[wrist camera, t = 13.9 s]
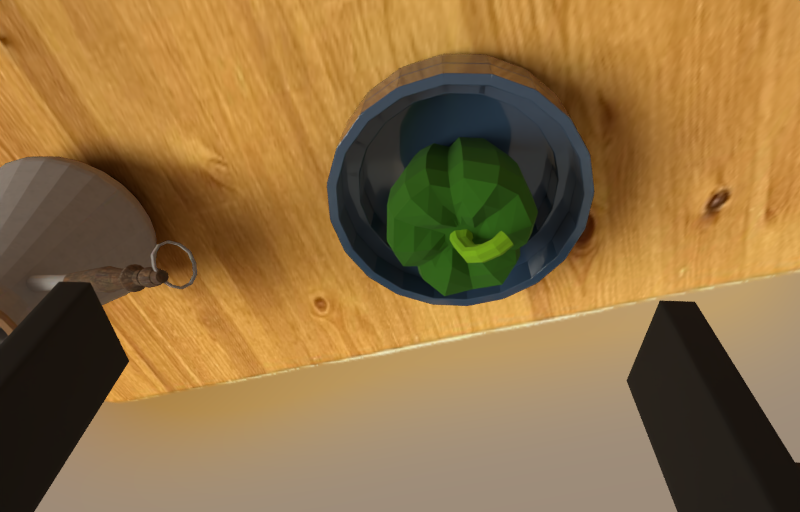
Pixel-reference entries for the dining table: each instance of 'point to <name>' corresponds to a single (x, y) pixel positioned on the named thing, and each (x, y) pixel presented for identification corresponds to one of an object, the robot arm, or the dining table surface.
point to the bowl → (443, 124)
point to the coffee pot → (71, 236)
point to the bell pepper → (460, 215)
